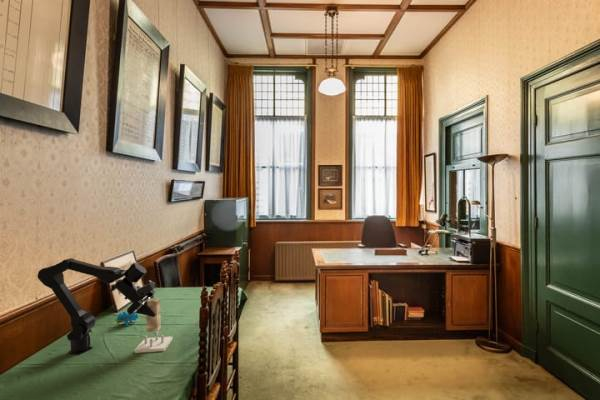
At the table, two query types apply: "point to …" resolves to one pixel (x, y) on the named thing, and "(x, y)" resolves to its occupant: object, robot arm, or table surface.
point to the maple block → (155, 322)
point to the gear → (125, 318)
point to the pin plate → (153, 344)
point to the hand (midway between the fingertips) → (156, 314)
